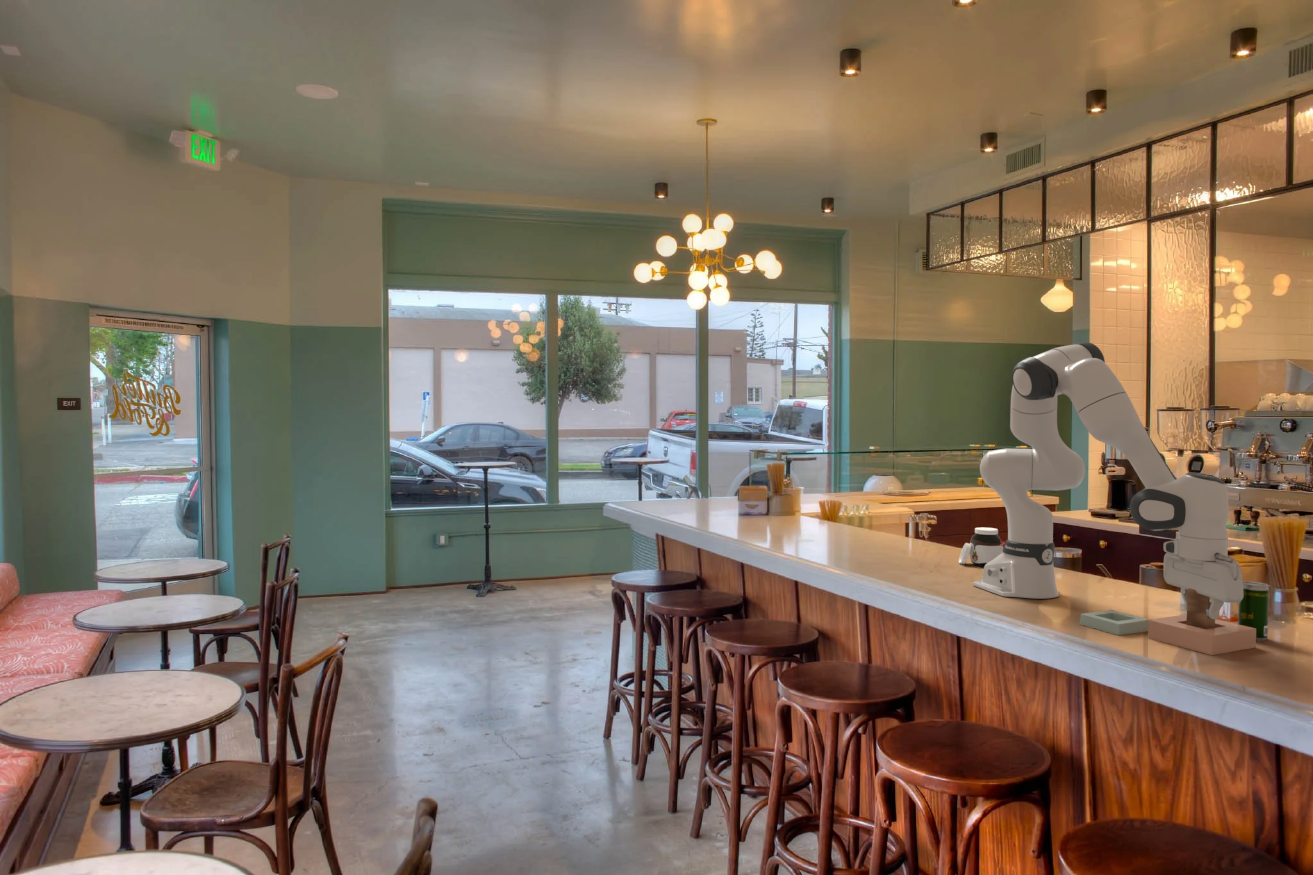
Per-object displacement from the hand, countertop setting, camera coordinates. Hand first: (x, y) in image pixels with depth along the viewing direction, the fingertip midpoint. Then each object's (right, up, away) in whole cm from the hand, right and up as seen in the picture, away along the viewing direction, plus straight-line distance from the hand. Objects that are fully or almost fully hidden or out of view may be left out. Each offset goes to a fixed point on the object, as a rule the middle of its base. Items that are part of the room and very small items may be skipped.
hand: (1201, 614), depth 184 cm
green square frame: (-12, -6, +13) cm, 18 cm away
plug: (0, -5, 0) cm, 5 cm away
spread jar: (-14, -3, +89) cm, 90 cm away
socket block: (0, -6, 0) cm, 6 cm away
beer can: (+14, -6, +4) cm, 16 cm away
